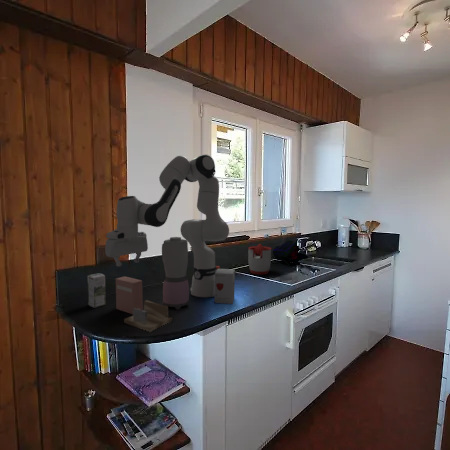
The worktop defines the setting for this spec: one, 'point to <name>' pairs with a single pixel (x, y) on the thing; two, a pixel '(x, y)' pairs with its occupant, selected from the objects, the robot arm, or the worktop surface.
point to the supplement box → (224, 286)
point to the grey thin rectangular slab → (140, 316)
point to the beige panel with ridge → (152, 316)
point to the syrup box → (96, 290)
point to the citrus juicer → (259, 259)
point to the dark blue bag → (289, 253)
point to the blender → (175, 272)
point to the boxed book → (128, 294)
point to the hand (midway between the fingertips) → (128, 264)
